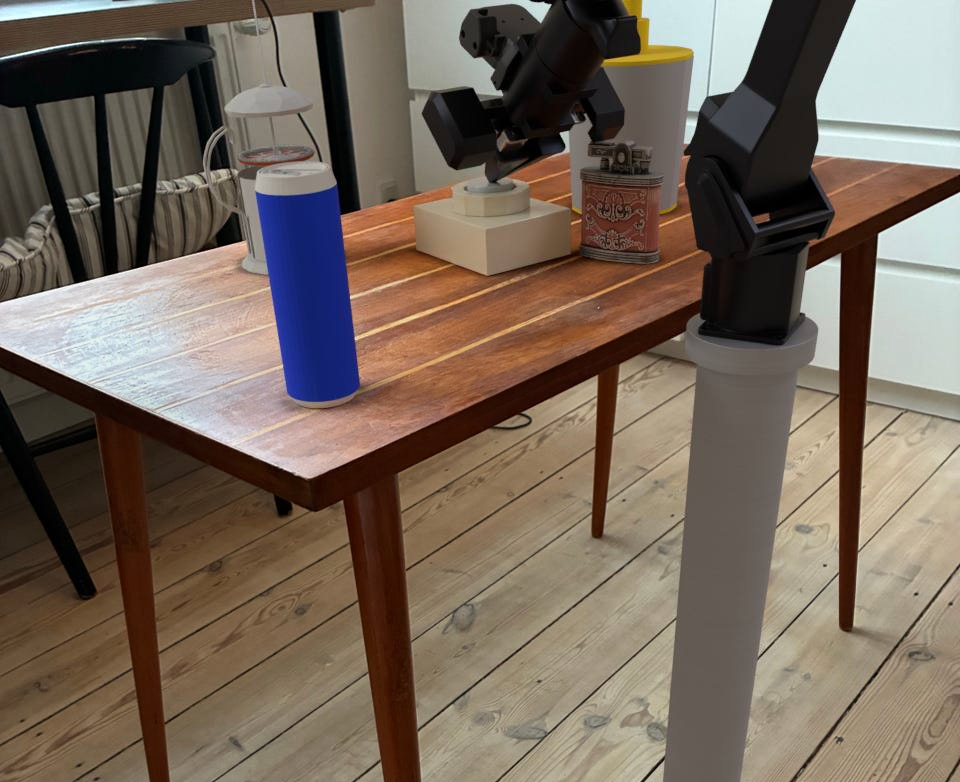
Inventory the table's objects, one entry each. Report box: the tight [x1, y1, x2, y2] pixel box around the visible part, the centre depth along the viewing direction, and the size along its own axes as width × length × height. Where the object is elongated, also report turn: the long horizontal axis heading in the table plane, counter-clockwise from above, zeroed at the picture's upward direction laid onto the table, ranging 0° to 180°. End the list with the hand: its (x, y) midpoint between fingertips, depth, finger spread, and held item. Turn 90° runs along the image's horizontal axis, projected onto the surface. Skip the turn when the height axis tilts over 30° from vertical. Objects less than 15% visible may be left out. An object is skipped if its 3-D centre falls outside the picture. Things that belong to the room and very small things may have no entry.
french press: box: [202, 0, 315, 276], centre depth 94 cm, size 10×12×25 cm
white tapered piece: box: [568, 0, 695, 215], centre depth 108 cm, size 13×13×21 cm
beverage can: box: [255, 160, 361, 409], centre depth 69 cm, size 5×5×15 cm
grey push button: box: [466, 176, 513, 194], centre depth 98 cm, size 4×4×2 cm
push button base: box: [412, 178, 572, 277], centre depth 100 cm, size 12×10×6 cm
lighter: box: [578, 140, 664, 265], centre depth 95 cm, size 8×3×10 cm, turn 57°
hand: (489, 177), depth 97 cm, fingers closed, pressing on grey push button
